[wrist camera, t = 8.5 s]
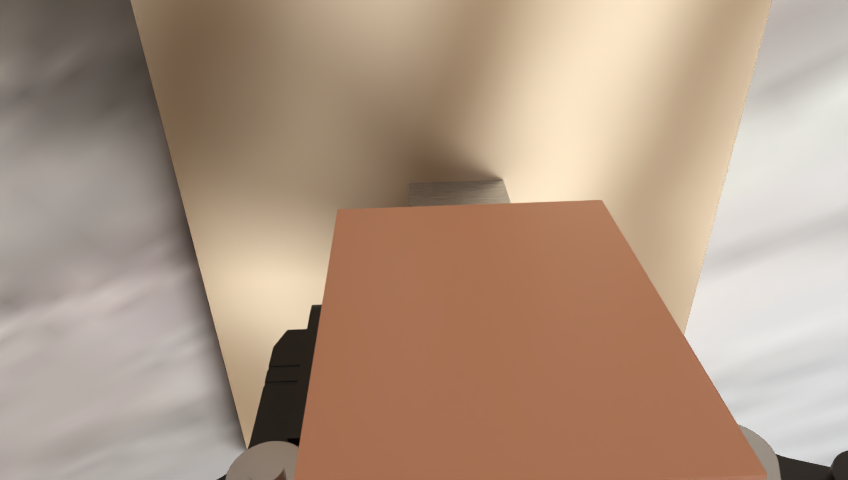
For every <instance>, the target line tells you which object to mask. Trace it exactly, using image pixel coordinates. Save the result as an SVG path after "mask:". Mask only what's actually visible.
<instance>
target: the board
mask: <svg viewBox="0 0 848 480" xmlns="http://www.w3.org/2000/svg"><path fill="white" fill-rule="evenodd" d="M130 1H131V5H132V9H133V13H134V16H135V20H136V24H137V28H138V32H139V36H140V40H141V43H142V47H143V51H144V55H145V59H146V63H147V67H148V70H149V74H150V78H151V82H152V86H153V90H154V93H155V97H156V101H157V105H158V109H159V113H160V117H161V120H162V124H163V128H164V132H165V136H166V140H167V144H168V147H169V151H170V155H171V159H172V163H173V167H174V171H175V174H176V178H177V182H178V186H179V190H180V194H181V198H182V201H183V205H184V209H185V213H186V217H187V221H188V224H189V228H190V232H191V236H192V240H193V244H194V248H195V251H196V255H197V259H198V263H199V267H200V271H201V275H202V278H203V282H204V286H205V290H206V294H207V298H208V302H209V305H210V309H211V313H212V317H213V321H214V325H215V329H216V332H217V336H218V340H219V344H220V348H221V352H222V355H223V359H224V363H225V367H226V371H227V375H228V379H229V382H230V386H231V390H232V394H233V398H234V402H235V406H236V409H237V413H238V417H239V421H240V425H241V429H242V433H243V436H244V440H245V444H246V448H247V449H248V446H249V443H250V439H251V435H252V431H253V427H254V423H255V419H256V415H257V411H258V407H259V403H260V399H261V395H262V391H263V387H264V386H265V378H266V374H267V370H269V362H270V358H271V354H272V350H273V347H274V345H275V344H276V343H277V342H278V341H279V339H280V338H281V337H282V336H283V335H284V333H285V332H286V331H287V330H295V329H307V326H308V321H309V315H310V310H311V306H312V305H320V304H322V301H323V295H324V289H325V283H326V277H327V270H328V264H329V258H330V252H331V246H332V240H333V233H334V227H335V221H336V215H337V209H363V208H391V207H409V186H408V183H423V182H451V181H480V180H504V184H505V187H506V190H507V193H508V196H509V199H510V202H511V203H529V202H557V201H584V200H602V201H603V203H604V204H605V206H606V208H607V209H608V211H609V213H610V214H611V216H612V218H613V219H614V221H615V223H616V224H617V226H618V227H619V229H620V231H621V232H622V234H623V236H624V237H625V239H626V241H627V242H628V244H629V246H630V247H631V249H632V251H633V252H634V254H635V256H636V257H637V259H638V261H639V262H640V264H641V266H642V267H643V269H644V271H645V272H646V274H647V275H648V277H649V279H650V280H651V282H652V284H653V285H654V287H655V289H656V290H657V292H658V294H659V295H660V297H661V299H662V300H663V302H664V304H665V305H666V307H667V309H668V310H669V312H670V314H671V315H672V317H673V319H674V320H675V322H676V323H677V325H678V327H679V328H680V330H681V332H682V333H683V335H684V333H685V329H686V325H687V322H688V318H689V314H690V310H691V306H692V303H693V299H694V295H695V291H696V287H697V284H698V280H699V276H700V272H701V269H702V265H703V261H704V257H705V253H706V250H707V246H708V242H709V238H710V234H711V231H712V227H713V223H714V219H715V215H716V212H717V208H718V204H719V200H720V196H721V193H722V189H723V185H724V181H725V178H726V174H727V170H728V166H729V162H730V159H731V155H732V151H733V147H734V143H735V140H736V136H737V132H738V128H739V124H740V121H741V117H742V113H743V109H744V106H745V102H746V98H747V94H748V90H749V87H750V83H751V79H752V75H753V71H754V68H755V64H756V60H757V56H758V52H759V49H760V45H761V41H762V37H763V34H764V30H765V26H766V22H767V18H768V15H769V11H770V7H771V3H772V0H130Z"/></svg>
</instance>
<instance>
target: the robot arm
mask: <svg viewBox="0 0 848 480" xmlns="http://www.w3.org/2000/svg"><path fill="white" fill-rule="evenodd" d="M321 308H322V304H320V305H312V306H311V310H310V315H309V321H308V326H307V329H295V330H287V331H286V332H285V333H284V335H283V336H282V337H281V338H280V339H279V341H278V342H277V343H276V344H275V345H274V347H273V350H272V354H271V358H270V362H269V370H267V374H266V378H265V386H264V387H263V391H262V395H261V399H260V403H259V407H258V411H257V415H256V419H255V423H254V427H253V431H252V435H251V439H250V443H249V446H248V449H247V450H246V451H245V452H243V453H242V454H241V455H240V456H239V457H238V458H237V459H236V460H235V461H234V462H233V463H232V465H231V466H230V468H229V470H228V472H227V474H226V475H224V476H223V477H221V478H219V479H217V480H294V475H295V468H296V462H297V456H298V450H299V444H300V437H301V431H302V425H303V419H304V413H305V406H306V400H307V394H308V388H309V382H310V376H311V369H312V363H313V357H314V351H315V345H316V338H317V332H318V326H319V320H320V314H321ZM738 426H739V428H740V429H741V431H742V433H743V434H744V436H745V438H746V439H747V441H748V443H749V444H750V446H751V448H752V449H753V451H754V453H755V454H756V456H757V458H758V459H759V461H760V462H761V464H762V466H763V467H764V469H765V471H766V472H767V474H768V475H767V478H766V480H848V451H845V452H842V453H841V454H839V455H838V456H837V457H836V458H835V459H834V461H833V463H832V465H831V467H827V466H823V465H818V464H813V463H809V462H804V461H799V460H795V459H790V458H786V457H783V456H780V455H777V454H775V452H774V451H773V449H772V448H771V447H770V445H769V444H768V443H767V442H766V441H765V440H764V439H763V438H761V437H760V436H759V435H758V434H756V433H755V432H753V431H751V430H749V429H748V428H746V427H743V426H741V425H738Z"/></svg>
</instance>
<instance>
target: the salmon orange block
mask: <svg viewBox="0 0 848 480" xmlns="http://www.w3.org/2000/svg"><path fill="white" fill-rule="evenodd" d="M767 475H768V474H767V472H766V471H765V469H764V467H763V466H762V464H761V462H760V461H759V459H758V458H757V456H756V454H755V453H754V451H753V449H752V448H751V446H750V444H749V443H748V441H747V439H746V438H745V436H744V434H743V433H742V431H741V429H740V428H739V426H738V424H737V423H736V421H735V419H734V418H733V416H732V415H731V413H730V411H729V410H728V408H727V406H726V405H725V403H724V401H723V400H722V398H721V396H720V395H719V393H718V391H717V390H716V388H715V386H714V385H713V383H712V381H711V380H710V378H709V376H708V375H707V373H706V371H705V370H704V368H703V367H702V365H701V363H700V362H699V360H698V358H697V357H696V355H695V353H694V352H693V350H692V348H691V347H690V345H689V343H688V342H687V340H686V338H685V337H684V335H683V333H682V332H681V330H680V328H679V327H678V325H677V323H676V322H675V320H674V319H673V317H672V315H671V314H670V312H669V310H668V309H667V307H666V305H665V304H664V302H663V300H662V299H661V297H660V295H659V294H658V292H657V290H656V289H655V287H654V285H653V284H652V282H651V280H650V279H649V277H648V275H647V274H646V272H645V271H644V269H643V267H642V266H641V264H640V262H639V261H638V259H637V257H636V256H635V254H634V252H633V251H632V249H631V247H630V246H629V244H628V242H627V241H626V239H625V237H624V236H623V234H622V232H621V231H620V229H619V227H618V226H617V224H616V223H615V221H614V219H613V218H612V216H611V214H610V213H609V211H608V209H607V208H606V206H605V204H604V203H603V201H602V200H584V201H557V202H529V203H501V204H474V205H446V206H418V207H391V208H363V209H337V215H336V221H335V227H334V233H333V240H332V246H331V252H330V258H329V264H328V270H327V277H326V283H325V289H324V295H323V301H322V308H321V314H320V320H319V326H318V332H317V338H316V345H315V351H314V357H313V363H312V369H311V376H310V382H309V388H308V394H307V400H306V406H305V413H304V419H303V425H302V431H301V437H300V444H299V450H298V456H297V462H296V468H295V475H294V480H766V478H767Z"/></svg>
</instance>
